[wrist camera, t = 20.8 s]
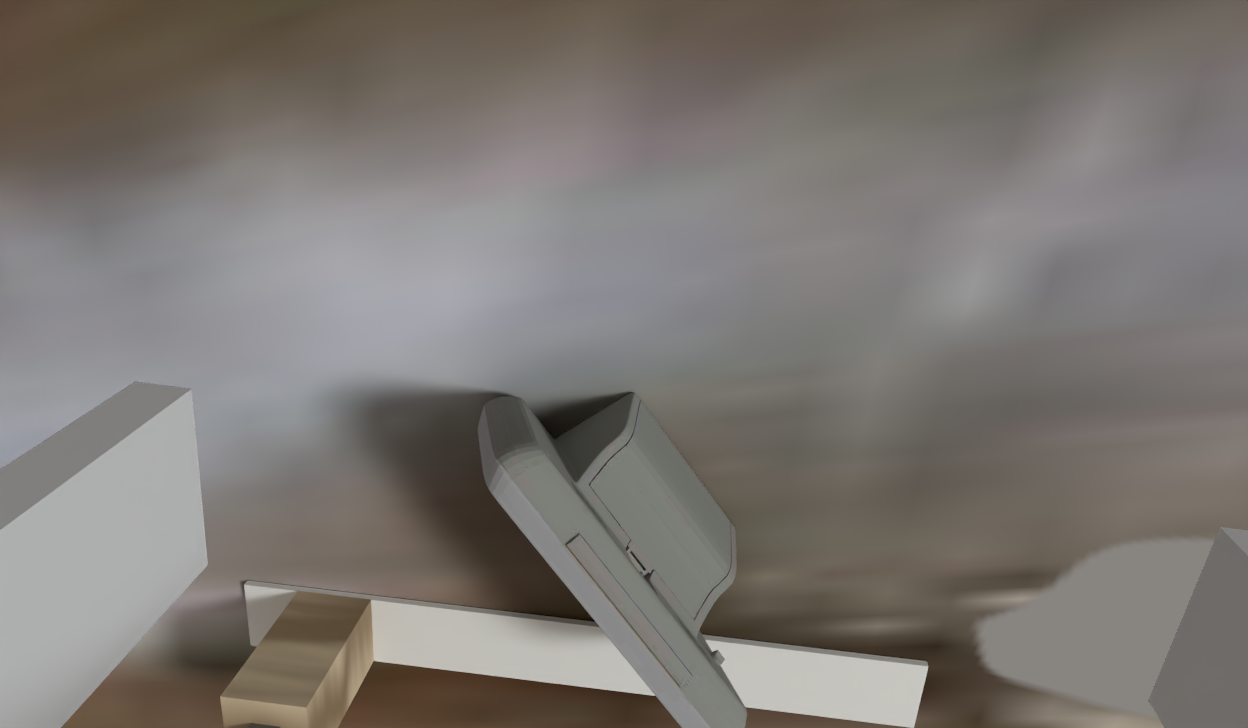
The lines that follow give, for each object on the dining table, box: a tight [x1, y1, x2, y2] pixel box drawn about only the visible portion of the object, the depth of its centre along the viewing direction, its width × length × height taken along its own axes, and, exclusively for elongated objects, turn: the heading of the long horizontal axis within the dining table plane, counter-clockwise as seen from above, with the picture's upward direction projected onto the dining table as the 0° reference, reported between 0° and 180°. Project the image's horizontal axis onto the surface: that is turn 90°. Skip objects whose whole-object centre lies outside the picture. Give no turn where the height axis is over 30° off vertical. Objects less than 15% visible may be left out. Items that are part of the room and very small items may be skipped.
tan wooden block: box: [220, 591, 374, 728], centre depth 44 cm, size 4×4×9 cm
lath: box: [244, 581, 928, 728], centre depth 48 cm, size 4×36×1 cm, turn 86°
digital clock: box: [478, 392, 747, 728], centre depth 39 cm, size 16×9×11 cm, turn 24°
